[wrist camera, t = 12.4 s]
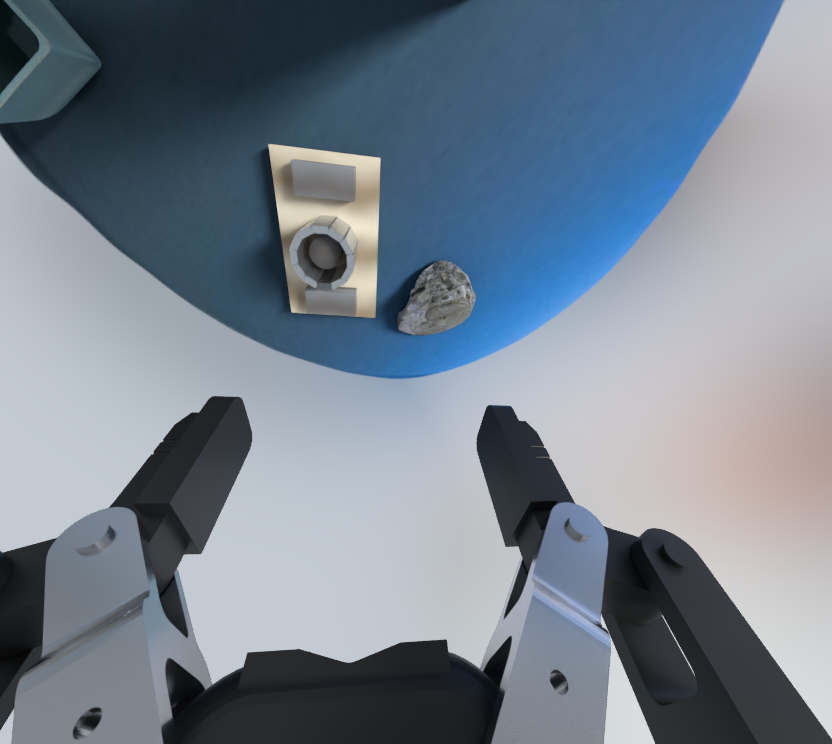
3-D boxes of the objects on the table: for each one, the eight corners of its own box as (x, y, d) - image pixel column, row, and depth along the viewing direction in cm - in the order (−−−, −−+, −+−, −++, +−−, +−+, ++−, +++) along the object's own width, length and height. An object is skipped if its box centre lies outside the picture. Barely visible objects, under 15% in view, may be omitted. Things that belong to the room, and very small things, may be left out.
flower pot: (25, -64, 24) (-138, -162, 16) (138, 73, 28) (51, 46, 21) (-33, 19, 26) (-200, -35, 18) (81, 134, 30) (-16, 128, 23)
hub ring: (300, 212, 34) (285, 222, 29) (358, 218, 35) (353, 229, 30) (306, 269, 38) (293, 287, 33) (358, 274, 38) (354, 291, 33)
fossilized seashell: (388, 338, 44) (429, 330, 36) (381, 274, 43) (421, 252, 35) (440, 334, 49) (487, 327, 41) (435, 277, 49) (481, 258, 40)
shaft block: (274, 144, 32) (253, 142, 27) (380, 157, 33) (379, 158, 28) (295, 306, 42) (283, 326, 37) (375, 311, 43) (374, 331, 39)
